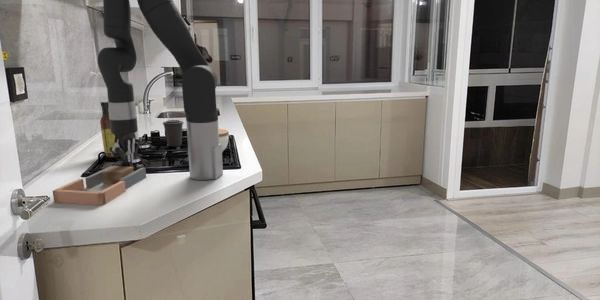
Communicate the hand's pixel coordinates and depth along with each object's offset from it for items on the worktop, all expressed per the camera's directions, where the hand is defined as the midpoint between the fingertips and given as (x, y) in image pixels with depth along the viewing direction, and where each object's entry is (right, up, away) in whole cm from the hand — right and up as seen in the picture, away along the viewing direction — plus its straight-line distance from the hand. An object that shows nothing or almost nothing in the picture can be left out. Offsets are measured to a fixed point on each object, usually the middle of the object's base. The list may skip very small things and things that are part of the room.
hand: (128, 172), depth 128 cm
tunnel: (-1, -2, -6) cm, 6 cm away
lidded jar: (+20, +6, +30) cm, 37 cm away
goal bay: (-3, -5, -17) cm, 18 cm away
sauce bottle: (-15, +5, +24) cm, 29 cm away
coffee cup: (+2, +9, +41) cm, 42 cm away
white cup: (-15, +8, +38) cm, 41 cm away
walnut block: (-1, -2, -5) cm, 5 cm away
